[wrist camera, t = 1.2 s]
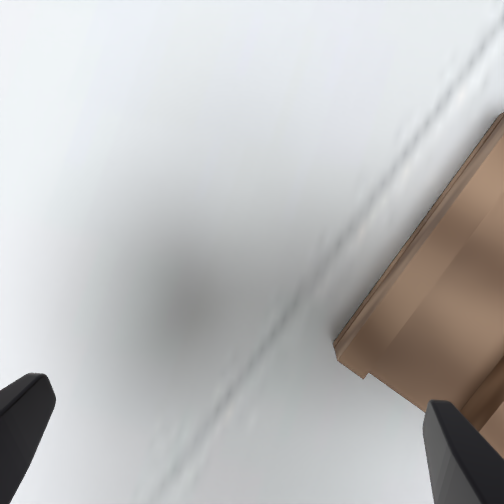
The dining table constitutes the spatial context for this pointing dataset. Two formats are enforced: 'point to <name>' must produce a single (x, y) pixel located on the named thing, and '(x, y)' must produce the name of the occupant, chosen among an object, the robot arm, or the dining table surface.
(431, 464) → the robot arm
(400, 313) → the wooden compartment tray
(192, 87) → the dining table surface
